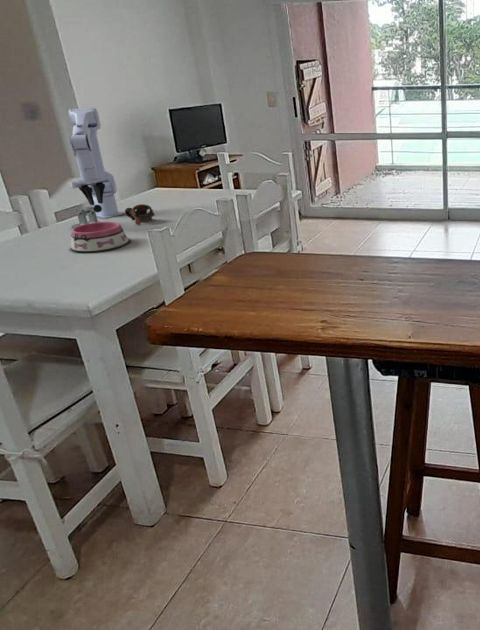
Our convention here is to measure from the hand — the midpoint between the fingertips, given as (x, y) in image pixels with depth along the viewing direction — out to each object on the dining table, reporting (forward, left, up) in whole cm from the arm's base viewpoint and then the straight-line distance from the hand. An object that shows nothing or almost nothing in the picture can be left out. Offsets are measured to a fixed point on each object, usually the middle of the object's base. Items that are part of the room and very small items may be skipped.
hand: (96, 203), depth 221 cm
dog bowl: (+20, -12, -11) cm, 26 cm away
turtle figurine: (+2, +15, -11) cm, 19 cm away
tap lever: (-4, 0, -5) cm, 6 cm away
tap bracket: (-10, 0, -10) cm, 14 cm away
